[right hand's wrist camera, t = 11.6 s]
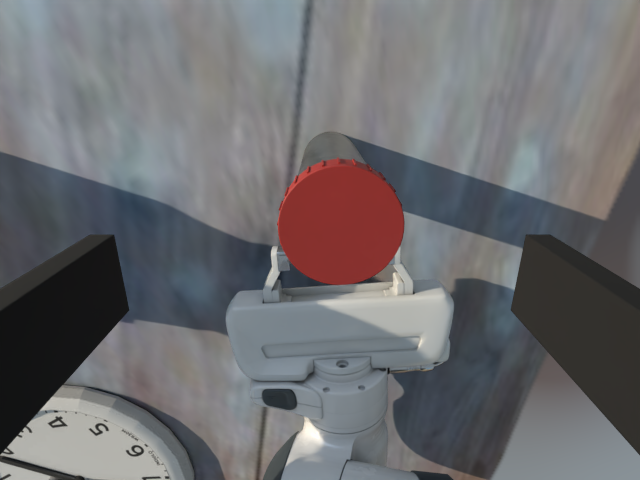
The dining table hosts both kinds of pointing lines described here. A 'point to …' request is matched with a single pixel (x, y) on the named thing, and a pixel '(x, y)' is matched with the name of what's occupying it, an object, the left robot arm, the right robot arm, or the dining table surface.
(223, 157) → the dining table surface
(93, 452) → the wall clock
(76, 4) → the dining table surface
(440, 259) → the dining table surface
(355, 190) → the lid
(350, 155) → the jar
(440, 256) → the dining table surface
